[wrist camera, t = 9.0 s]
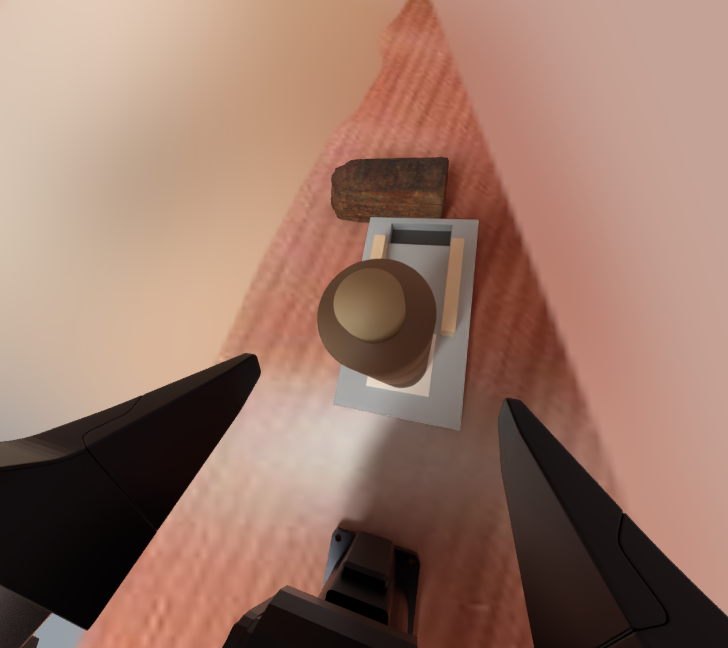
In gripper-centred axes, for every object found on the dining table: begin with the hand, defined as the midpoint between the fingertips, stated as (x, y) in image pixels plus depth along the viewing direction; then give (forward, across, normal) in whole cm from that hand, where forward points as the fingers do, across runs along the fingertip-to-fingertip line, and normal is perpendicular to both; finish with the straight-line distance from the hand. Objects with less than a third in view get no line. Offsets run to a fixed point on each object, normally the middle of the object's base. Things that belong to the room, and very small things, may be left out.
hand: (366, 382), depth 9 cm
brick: (+23, +4, -3) cm, 23 cm away
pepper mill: (+10, 0, +7) cm, 12 cm away
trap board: (+15, 0, +5) cm, 15 cm away
